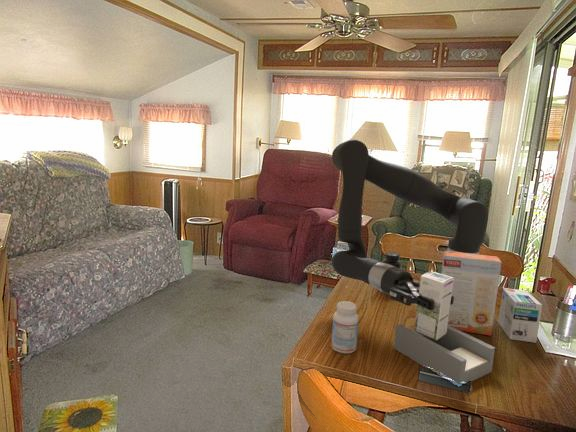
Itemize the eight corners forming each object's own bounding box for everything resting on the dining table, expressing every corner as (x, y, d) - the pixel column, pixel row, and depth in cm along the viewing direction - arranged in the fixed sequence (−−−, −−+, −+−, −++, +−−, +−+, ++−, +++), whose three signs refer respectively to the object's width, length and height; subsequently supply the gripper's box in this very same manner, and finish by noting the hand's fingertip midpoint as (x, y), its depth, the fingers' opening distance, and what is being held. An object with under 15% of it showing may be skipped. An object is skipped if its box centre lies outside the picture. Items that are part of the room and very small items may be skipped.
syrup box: (447, 333, 96) (455, 276, 93) (435, 341, 92) (443, 282, 89) (425, 325, 100) (432, 269, 97) (413, 332, 96) (420, 274, 93)
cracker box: (488, 327, 112) (499, 255, 108) (491, 337, 106) (503, 261, 102) (435, 318, 116) (443, 249, 112) (435, 327, 111) (444, 254, 107)
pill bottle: (338, 339, 102) (341, 297, 100) (360, 347, 98) (364, 304, 96) (326, 348, 97) (329, 305, 95) (349, 357, 93) (352, 312, 91)
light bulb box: (536, 343, 104) (543, 304, 102) (508, 340, 105) (515, 301, 103) (522, 325, 114) (528, 289, 112) (496, 322, 116) (502, 287, 114)
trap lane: (425, 337, 105) (428, 315, 104) (491, 371, 90) (495, 347, 89) (393, 348, 98) (396, 325, 97) (458, 387, 84) (462, 361, 82)
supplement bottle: (376, 283, 143) (379, 250, 141) (393, 282, 145) (396, 250, 142) (385, 290, 136) (388, 256, 134) (403, 289, 138) (406, 256, 136)
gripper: (371, 270, 102) (424, 293, 88) (410, 262, 109) (464, 283, 95) (368, 297, 103) (420, 325, 89) (407, 288, 111) (460, 312, 97)
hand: (442, 303), depth 92 cm, fingers closed on syrup box, 6 cm apart
